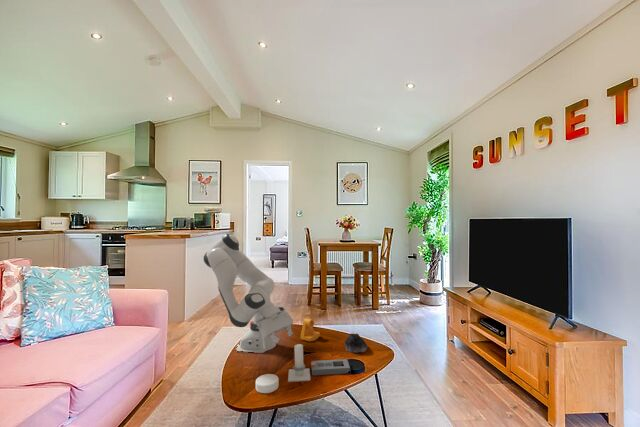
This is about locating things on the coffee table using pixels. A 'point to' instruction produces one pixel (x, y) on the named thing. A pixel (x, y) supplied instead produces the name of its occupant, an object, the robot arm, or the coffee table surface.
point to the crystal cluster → (355, 343)
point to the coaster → (267, 383)
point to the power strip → (330, 367)
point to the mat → (294, 378)
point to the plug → (299, 360)
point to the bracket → (309, 330)
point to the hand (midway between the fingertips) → (285, 338)
